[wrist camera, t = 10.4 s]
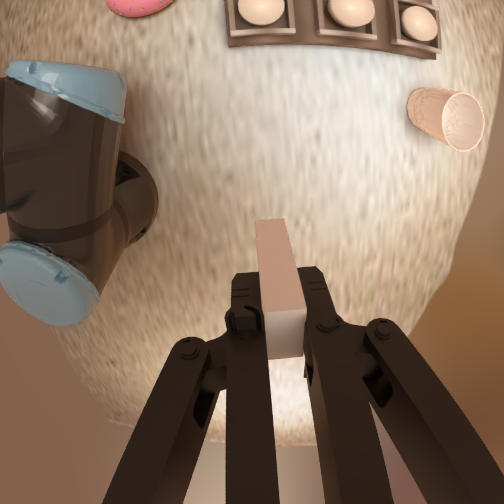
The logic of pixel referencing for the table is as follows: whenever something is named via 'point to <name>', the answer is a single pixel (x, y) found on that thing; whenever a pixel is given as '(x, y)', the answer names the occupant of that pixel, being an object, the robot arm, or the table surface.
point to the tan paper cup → (447, 116)
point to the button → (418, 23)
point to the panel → (335, 28)
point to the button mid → (351, 12)
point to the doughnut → (136, 7)
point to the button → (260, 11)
